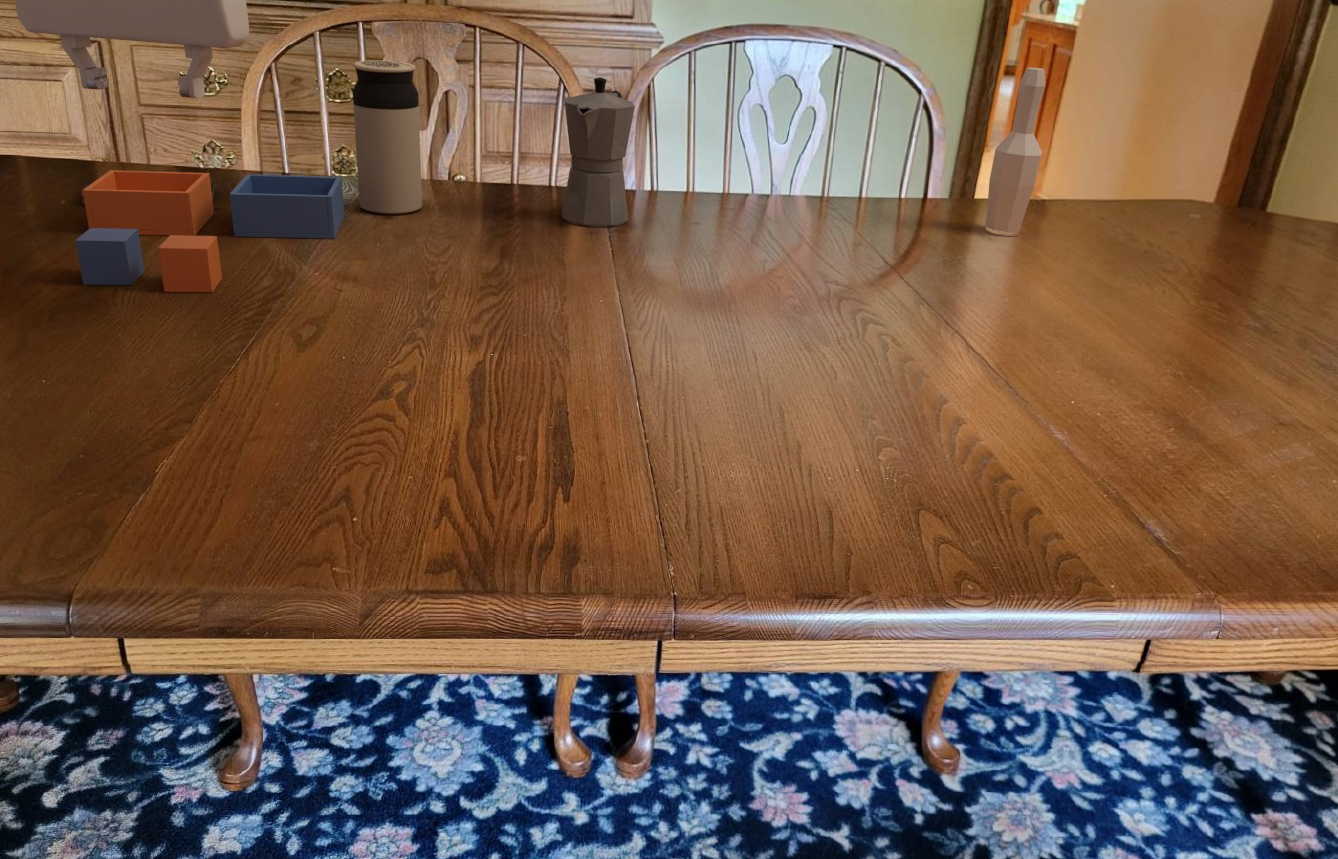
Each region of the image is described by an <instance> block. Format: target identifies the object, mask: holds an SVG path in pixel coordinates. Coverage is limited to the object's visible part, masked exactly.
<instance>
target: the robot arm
mask: <svg viewBox="0 0 1338 859" xmlns="http://www.w3.org/2000/svg"><path fill="white" fill-rule="evenodd" d="M14 3H15V4H14V5H15V11H16V16H17V20H18V21H19V22H20V24H21V25H22V26H23V27H24V29H25V30H26V31H28V32H29V33H33V34H46V35H58V36H60V41H61V47H62V50H64V52H65V54H66V55H67V56H68V58H69V59H70V60H71V62H72V63H73V65H74V66H75V68H76V69H77V70H78V73H79V78H80V83H81V87H82V88H83V89H86V90H98V91H99V90H105V89H107V88H108V86H109V81H108V79H107V69H106V67H101V66H98V65H97V63H96V62H95V60H94V58H93V57H92V55H91V54H90V52H89V50H88V48H91V46H92V42H91V38H93V39H94V38H95V39H105V40H107V39H108V40H117V41H118V40H119V41H130V42H143V43H155V44H167V45H179V46H183V48H184V55H185V58H186V59H191V61H190V64H189V67H188V69H187V72H186V74H185V75H183V76H181V75H180V76H177V85H178V87H179V89H178V93H179V95H180V97H181V98H189V99H200V98H203V97H204V96H205V95H206V94H205V92H206V91H205V90H206V89H205V82H204V77H205V75H206V73H207V71H208V68H209V66H210V64H211V62H212V59H213V57H214V56H213V48H214V49H215V48H216V49H230V48H236V47H240V46H243V45H244V44H245V42H246V41H247V39H248V37H249V35H250V20H249V14H248V7H247V1H246V0H14Z"/></svg>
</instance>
